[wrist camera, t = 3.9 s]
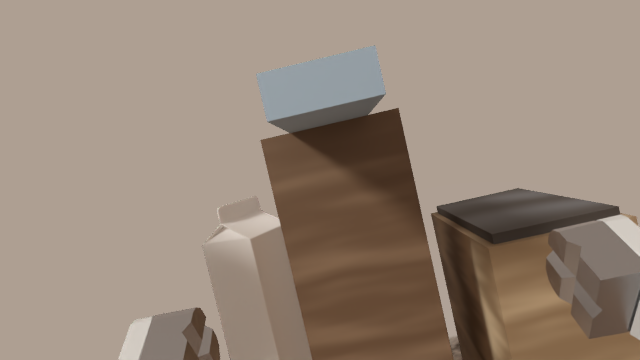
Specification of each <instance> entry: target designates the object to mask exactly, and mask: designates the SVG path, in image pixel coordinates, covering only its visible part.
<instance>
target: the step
mask: <svg viewBox="0 0 640 360" xmlns="http://www.w3.org/2000/svg"><path fill="white" fill-rule="evenodd" d="M437 210H438V212H436V213H432V214H431V216H432V220H433V225H434V230H435V234H436V239H437V243H438V248H439V252H440V257H441V262H442V266H443V271H444V275H445V280H446V285H447V289H448V294H449V299H450V303H451V308H452V312H453V317H454V322H455V326H456V331H457V335H458V340H459V345H460V349H461V354H462V358H463V360H640V340H639V339H637V338H635V337H634V336H632V335H631V334H630V332H626V333H621V334H615V335H610V336H604V337H598V338H593V339H588V337H587V336H586V335H585V333H584V332H583V330H582V329H581V328H580V326H579V325H578V324H577V322H576V321H575V319H574V318H573V317H572V315H571V307H572V304H570V303H568V302H566V301H564V300H562V299H560V298H559V297H558V296H557V294H556V293H555V291H554V290H553V288H552V286H551V284H550V282H549V280H548V276H547V272H546V258H547V256H548V255H549V254H550V253H551V252H552V251H553V249H552V248H551V247H550V246H549V244H548V237H549V234H550V232H551V231H552V230H554V229H559V228H563V227H568V226H572V225H576V224H581V223H585V222H590V221H596V220H599V219H603V218H608V217H612V216H616V215H624V216H626V217H628V218H629V219H630V220H632V221H633V222H634V223H635V224H636V225H637V226H638V223H637V219H636V216H631V215H626V214H622V213H620V211H619V207H618V206H613V205H607V204H602V203H596V202H591V201H585V200H579V199H574V198H569V197H563V196H557V195H552V194H546V193H541V192H535V191H530V190H524V189H519V188H517V189H513V190H508V191H504V192H499V193H495V194H490V195H486V196H481V197H477V198H472V199H468V200H463V201H459V202H455V203H450V204H446V205H441V206H437Z"/></svg>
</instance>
